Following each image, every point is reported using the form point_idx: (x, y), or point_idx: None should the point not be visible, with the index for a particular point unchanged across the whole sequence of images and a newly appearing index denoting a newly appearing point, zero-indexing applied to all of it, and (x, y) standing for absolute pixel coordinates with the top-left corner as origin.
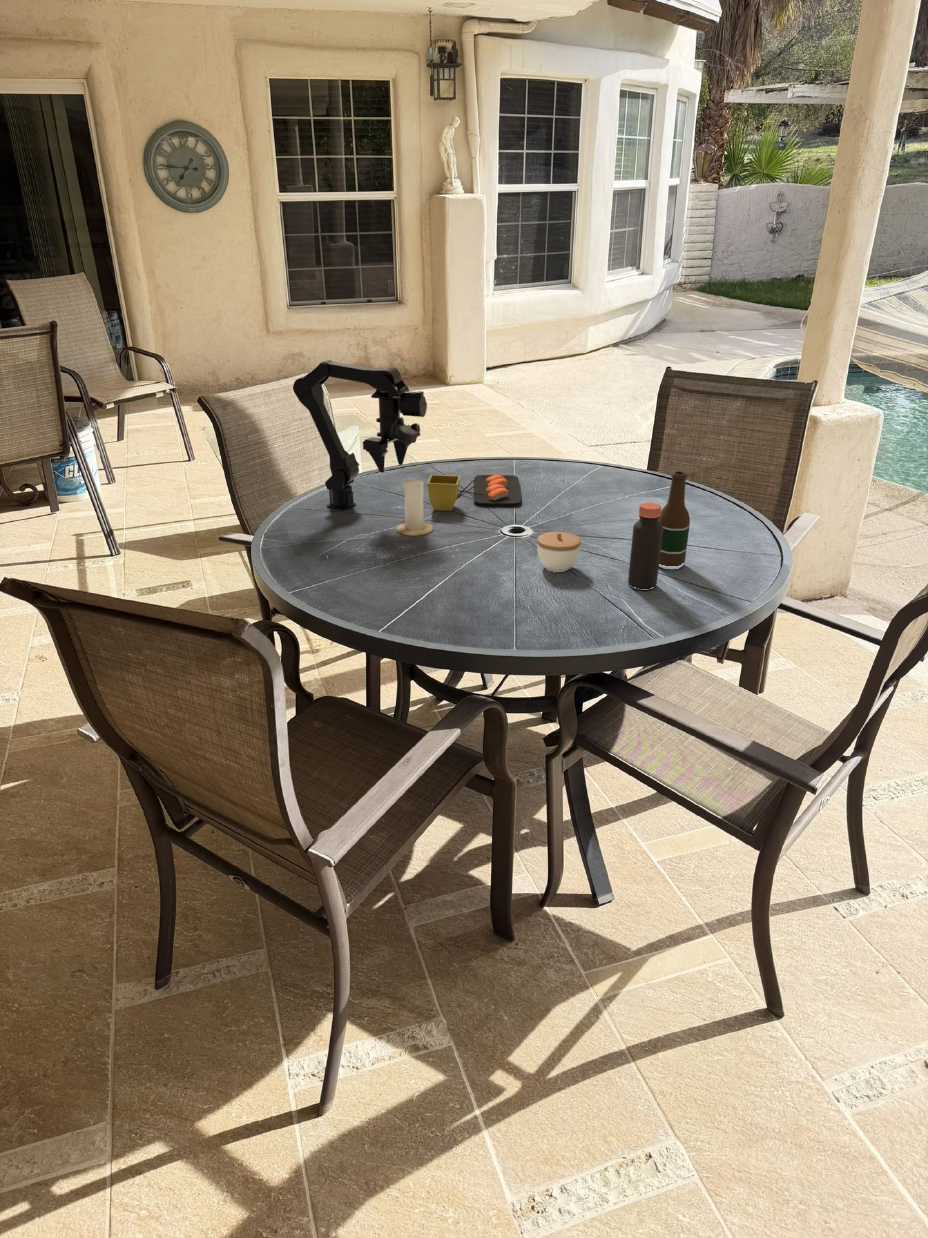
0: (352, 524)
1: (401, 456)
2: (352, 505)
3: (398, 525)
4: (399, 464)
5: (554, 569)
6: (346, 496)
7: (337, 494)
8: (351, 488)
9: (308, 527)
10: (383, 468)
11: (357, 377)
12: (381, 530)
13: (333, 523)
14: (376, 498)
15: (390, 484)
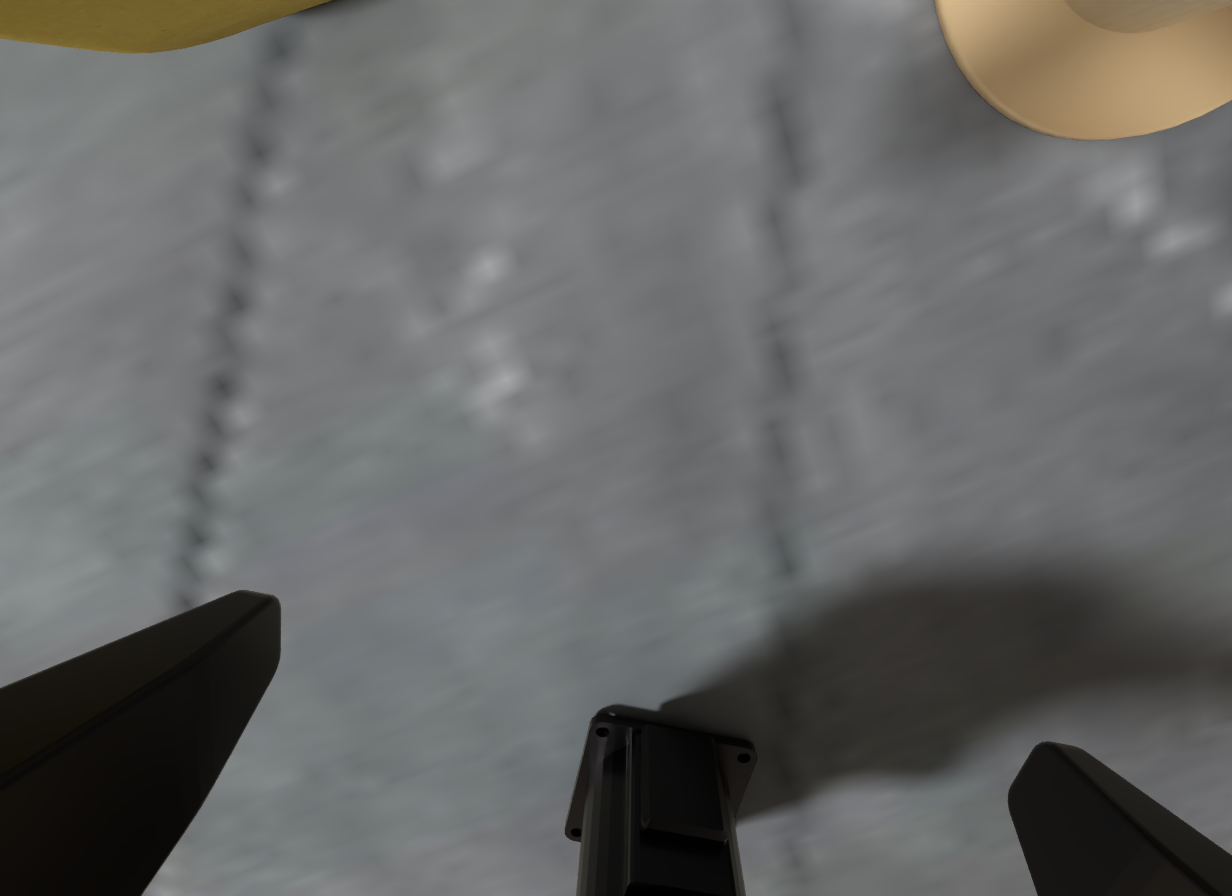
0: (1059, 568)
1: (77, 799)
2: (645, 725)
3: (1114, 132)
4: (275, 653)
5: None
6: (725, 822)
7: (744, 891)
8: (644, 861)
9: (1163, 798)
10: (1172, 829)
11: None
12: (1203, 271)
13: (1054, 695)
14: (379, 642)
15: (13, 674)
